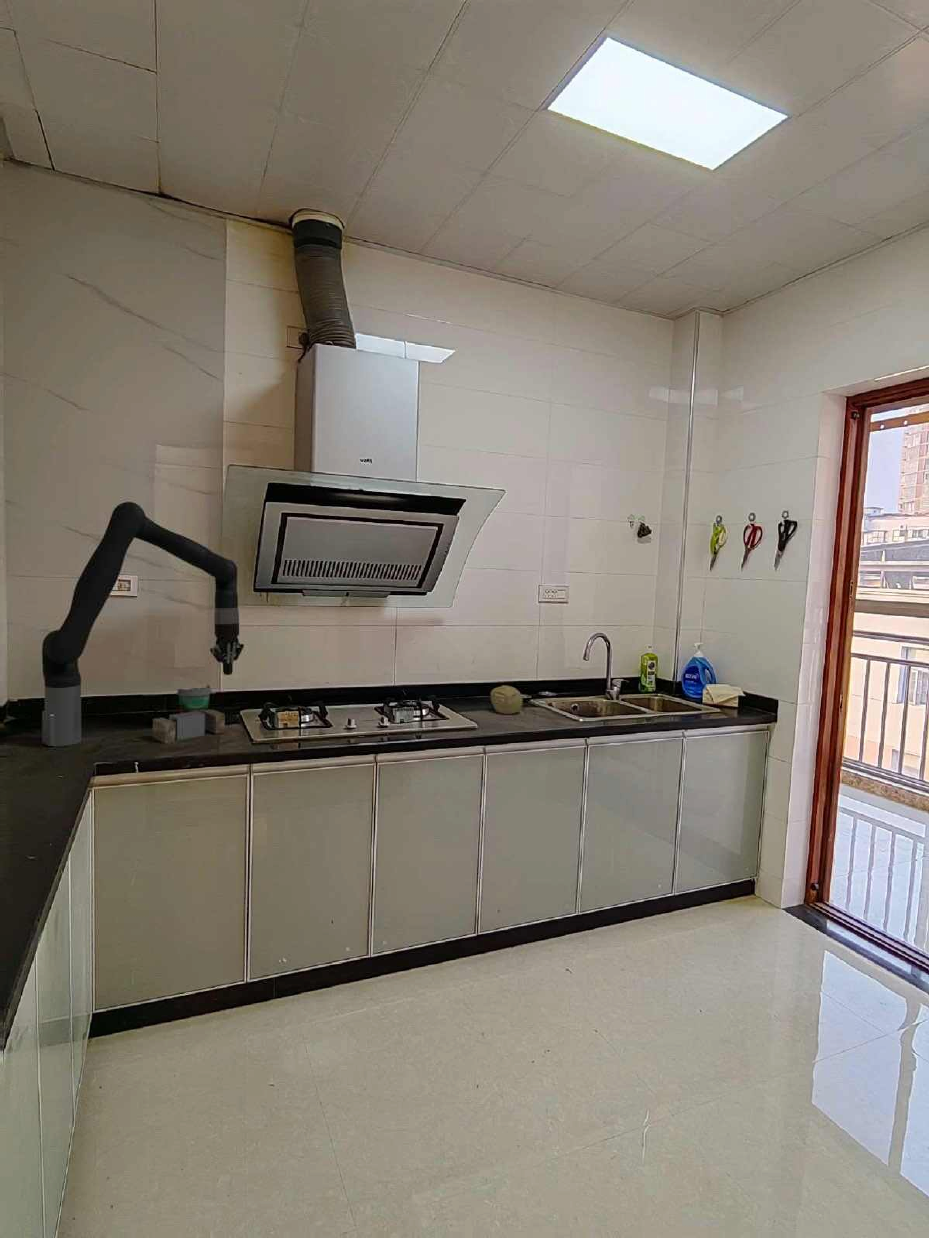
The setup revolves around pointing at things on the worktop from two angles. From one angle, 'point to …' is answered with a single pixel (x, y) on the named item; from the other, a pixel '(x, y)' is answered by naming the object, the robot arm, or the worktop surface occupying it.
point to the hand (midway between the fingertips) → (227, 674)
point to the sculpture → (506, 699)
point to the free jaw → (214, 721)
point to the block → (189, 724)
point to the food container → (194, 699)
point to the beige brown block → (164, 730)
